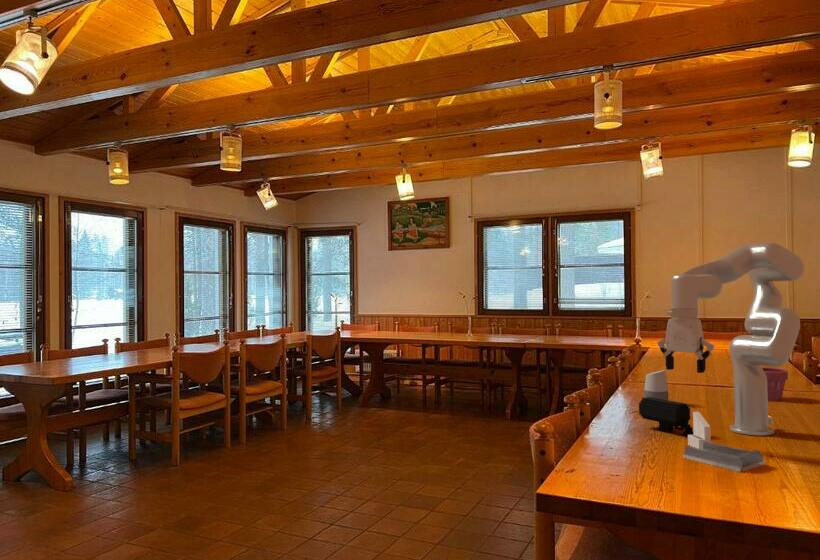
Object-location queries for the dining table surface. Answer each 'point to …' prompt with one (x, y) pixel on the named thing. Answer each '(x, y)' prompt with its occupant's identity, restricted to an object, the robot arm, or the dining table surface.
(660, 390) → the smart speaker
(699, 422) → the white wedge bracket
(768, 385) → the plant pot
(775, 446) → the dining table surface
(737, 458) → the rail board
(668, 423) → the security camera
